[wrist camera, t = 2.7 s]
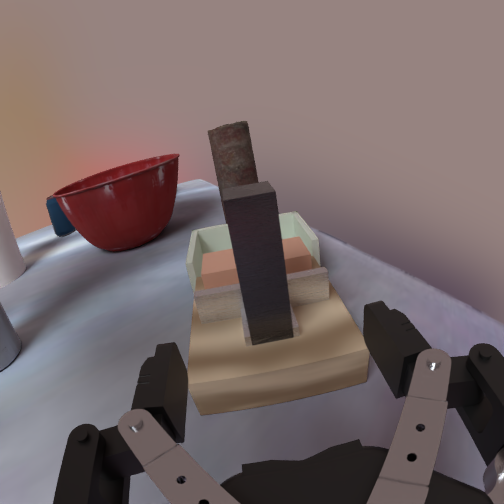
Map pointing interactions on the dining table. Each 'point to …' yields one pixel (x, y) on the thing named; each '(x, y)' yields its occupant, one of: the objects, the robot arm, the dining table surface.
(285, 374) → the curved wooden platform
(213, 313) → the dark piece
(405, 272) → the dining table surface
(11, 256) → the canister
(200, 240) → the tray
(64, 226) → the soda can
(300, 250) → the tile
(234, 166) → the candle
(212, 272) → the tile
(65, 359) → the dining table surface
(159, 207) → the mixing bowl
